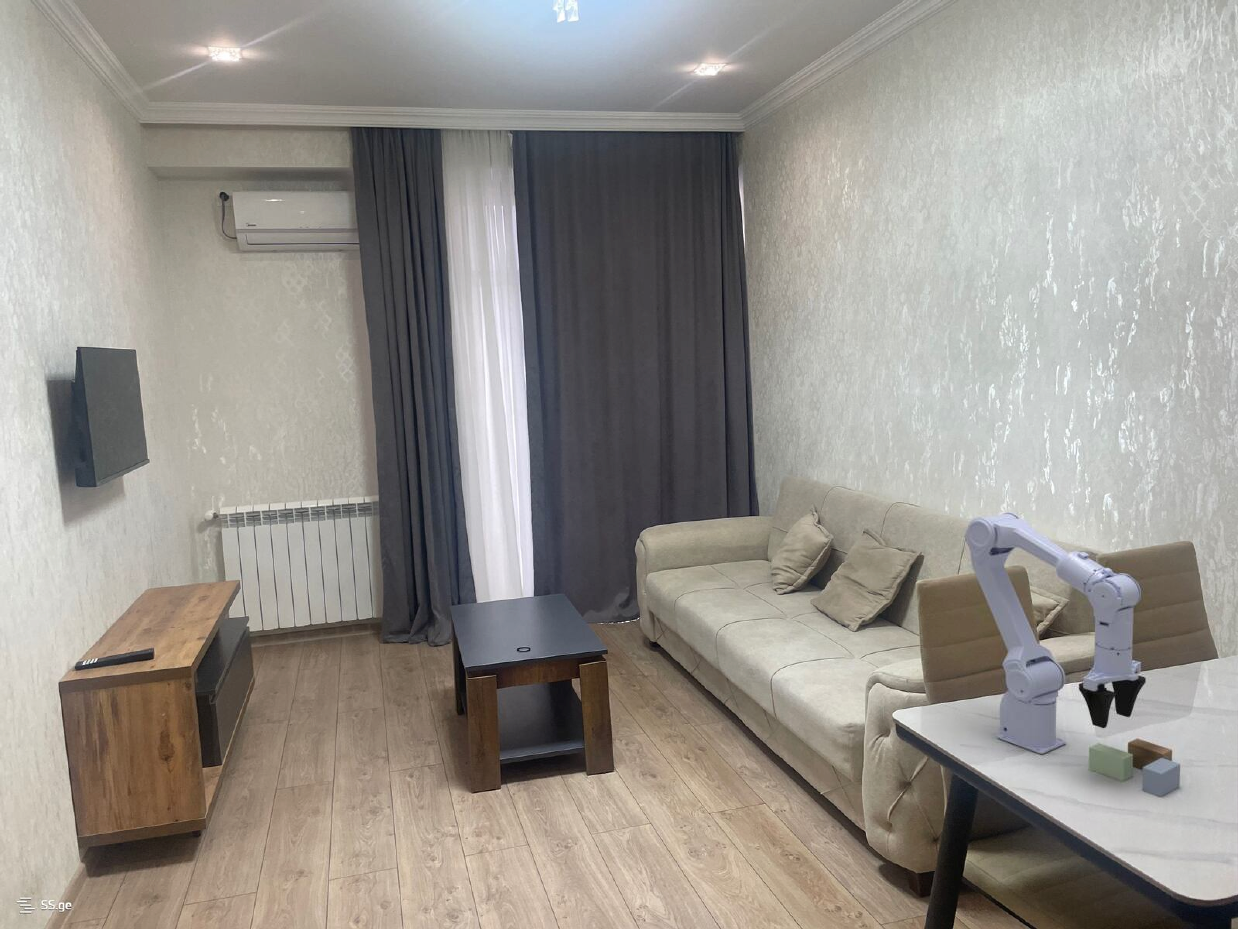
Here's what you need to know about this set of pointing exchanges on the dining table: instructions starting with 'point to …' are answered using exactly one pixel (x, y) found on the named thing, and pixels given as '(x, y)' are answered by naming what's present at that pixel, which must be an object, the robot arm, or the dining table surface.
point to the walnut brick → (1147, 752)
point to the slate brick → (1161, 777)
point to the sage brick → (1110, 762)
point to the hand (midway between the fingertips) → (1111, 720)
